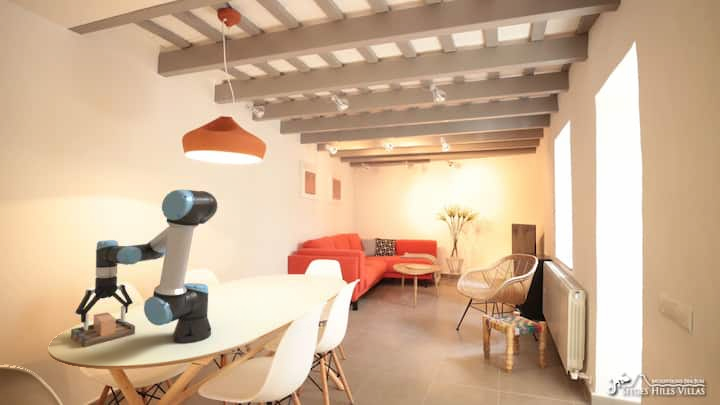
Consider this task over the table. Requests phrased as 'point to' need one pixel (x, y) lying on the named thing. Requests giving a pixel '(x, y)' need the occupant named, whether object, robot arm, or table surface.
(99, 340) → the wooden tray
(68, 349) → the table surface
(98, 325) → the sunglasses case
